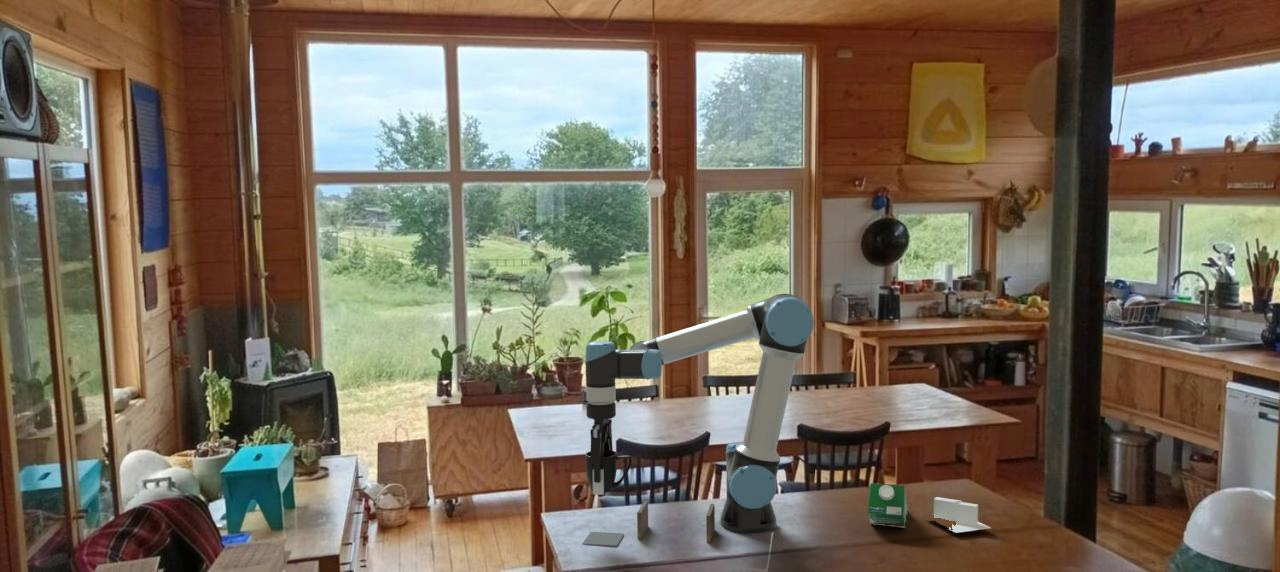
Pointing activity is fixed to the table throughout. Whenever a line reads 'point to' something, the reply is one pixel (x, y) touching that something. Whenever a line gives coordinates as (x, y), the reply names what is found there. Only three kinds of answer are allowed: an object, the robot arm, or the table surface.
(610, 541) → the coaster
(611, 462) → the mug
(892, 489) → the milk carton
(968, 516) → the napkin holder
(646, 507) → the rack
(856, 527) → the table surface
